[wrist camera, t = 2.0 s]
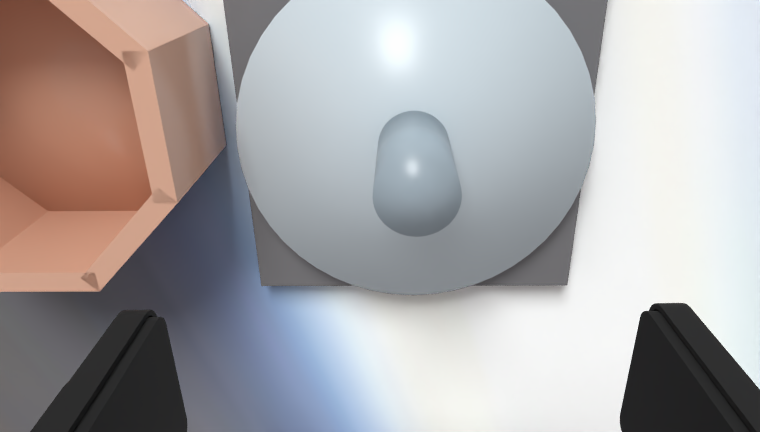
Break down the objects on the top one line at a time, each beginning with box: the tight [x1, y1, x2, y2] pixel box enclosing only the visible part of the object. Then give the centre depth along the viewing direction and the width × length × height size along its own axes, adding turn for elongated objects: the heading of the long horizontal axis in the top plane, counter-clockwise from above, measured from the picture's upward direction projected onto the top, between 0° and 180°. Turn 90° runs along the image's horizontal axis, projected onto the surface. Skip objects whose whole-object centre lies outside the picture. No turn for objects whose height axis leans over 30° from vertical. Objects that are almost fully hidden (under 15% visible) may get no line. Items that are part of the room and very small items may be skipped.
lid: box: [236, 0, 596, 295], centre depth 21 cm, size 14×14×6 cm
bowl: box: [0, 0, 226, 292], centre depth 21 cm, size 12×12×6 cm
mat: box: [223, 0, 608, 286], centre depth 24 cm, size 14×14×1 cm
